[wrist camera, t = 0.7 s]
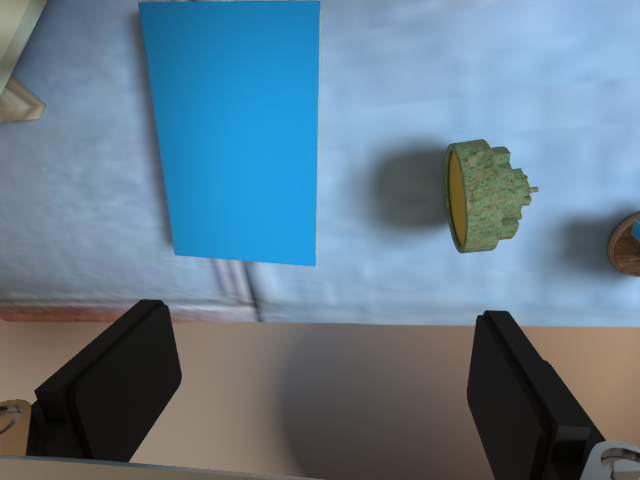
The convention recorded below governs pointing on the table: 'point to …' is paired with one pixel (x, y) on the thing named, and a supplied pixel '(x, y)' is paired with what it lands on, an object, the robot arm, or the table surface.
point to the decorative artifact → (483, 195)
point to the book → (238, 125)
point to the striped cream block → (4, 51)
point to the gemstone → (626, 246)
